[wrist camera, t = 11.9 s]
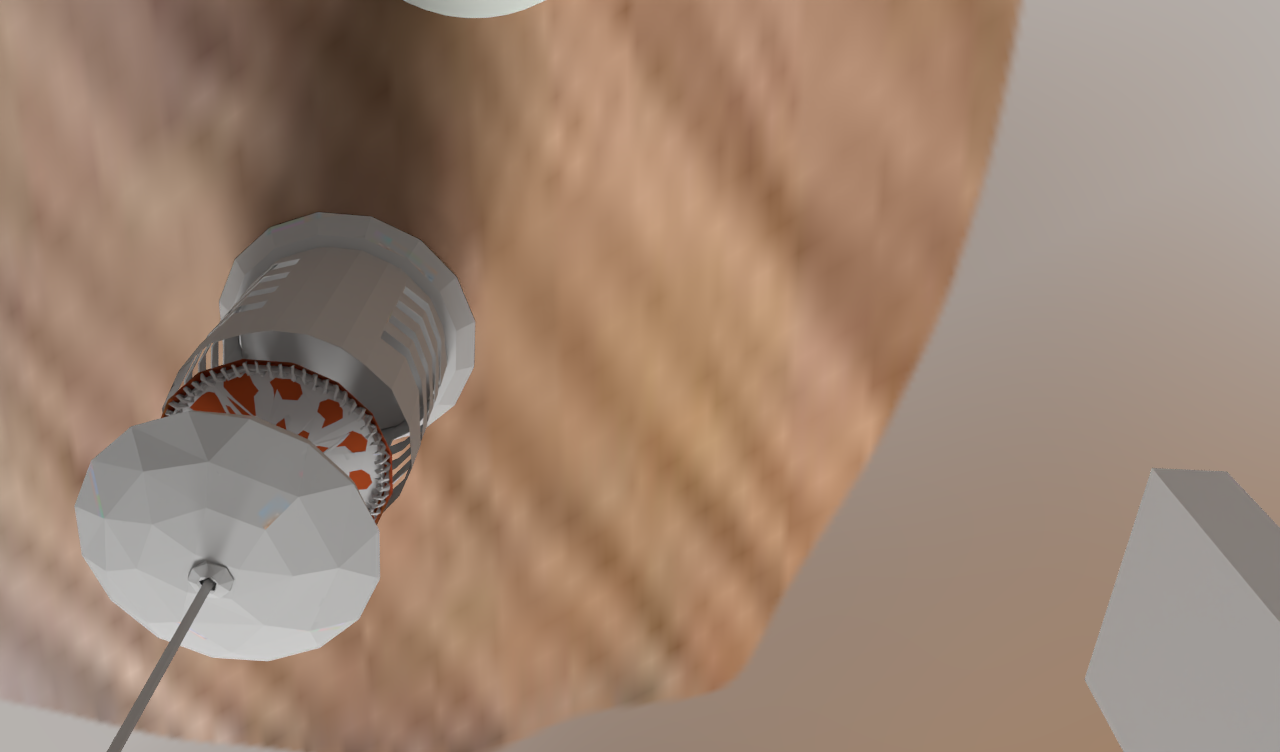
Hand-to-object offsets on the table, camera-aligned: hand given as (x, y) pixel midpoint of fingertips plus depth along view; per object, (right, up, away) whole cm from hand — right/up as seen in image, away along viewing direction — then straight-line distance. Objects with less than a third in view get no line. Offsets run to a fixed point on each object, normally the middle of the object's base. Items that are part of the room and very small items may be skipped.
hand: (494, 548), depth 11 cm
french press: (-10, +3, +31) cm, 33 cm away
